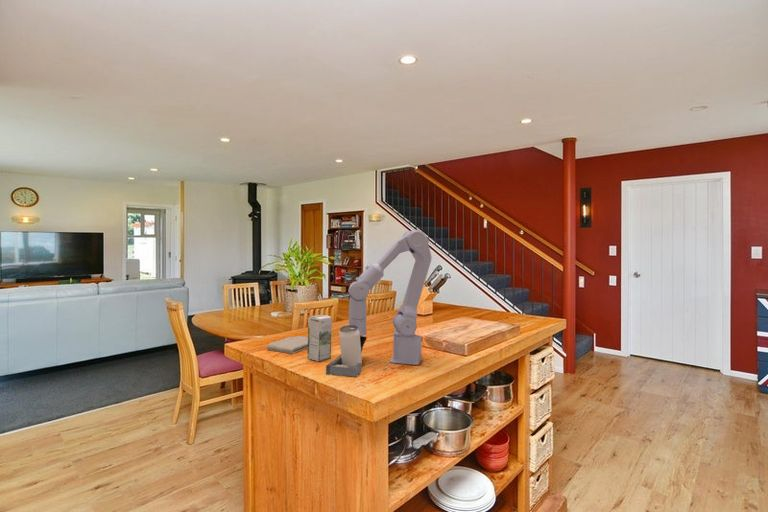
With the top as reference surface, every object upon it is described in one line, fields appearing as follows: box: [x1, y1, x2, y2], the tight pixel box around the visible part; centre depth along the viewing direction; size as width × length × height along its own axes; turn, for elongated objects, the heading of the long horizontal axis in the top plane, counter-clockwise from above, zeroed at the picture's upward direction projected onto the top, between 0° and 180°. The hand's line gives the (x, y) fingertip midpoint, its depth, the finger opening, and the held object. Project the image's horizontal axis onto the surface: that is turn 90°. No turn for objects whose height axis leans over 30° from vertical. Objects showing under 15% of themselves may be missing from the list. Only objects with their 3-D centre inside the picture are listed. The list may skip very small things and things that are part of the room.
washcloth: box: [266, 335, 308, 355], centre depth 148 cm, size 12×18×3 cm, turn 154°
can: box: [338, 324, 363, 367], centre depth 125 cm, size 6×6×12 cm
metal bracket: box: [325, 354, 363, 378], centre depth 125 cm, size 9×20×3 cm, turn 166°
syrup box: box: [306, 314, 333, 362], centre depth 133 cm, size 6×6×14 cm
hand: (356, 359), depth 129 cm, fingers closed, pressing on can
